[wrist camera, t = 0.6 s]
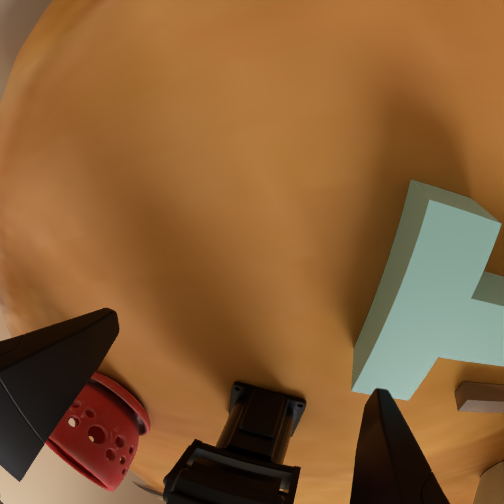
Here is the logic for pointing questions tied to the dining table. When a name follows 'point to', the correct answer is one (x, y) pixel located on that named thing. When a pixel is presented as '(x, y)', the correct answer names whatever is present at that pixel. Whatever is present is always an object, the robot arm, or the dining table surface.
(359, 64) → the dining table surface
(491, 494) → the plant pot
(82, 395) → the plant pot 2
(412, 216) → the tee
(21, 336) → the robot arm
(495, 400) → the dock
